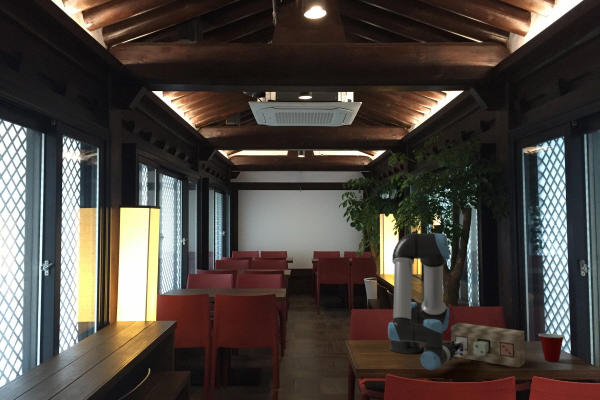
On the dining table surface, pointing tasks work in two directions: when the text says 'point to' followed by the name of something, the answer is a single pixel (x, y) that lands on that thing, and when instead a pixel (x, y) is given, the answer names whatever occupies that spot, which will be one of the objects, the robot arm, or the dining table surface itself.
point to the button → (465, 341)
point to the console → (491, 343)
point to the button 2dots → (481, 347)
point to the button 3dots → (507, 349)
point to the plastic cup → (551, 346)
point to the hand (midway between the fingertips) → (461, 343)
